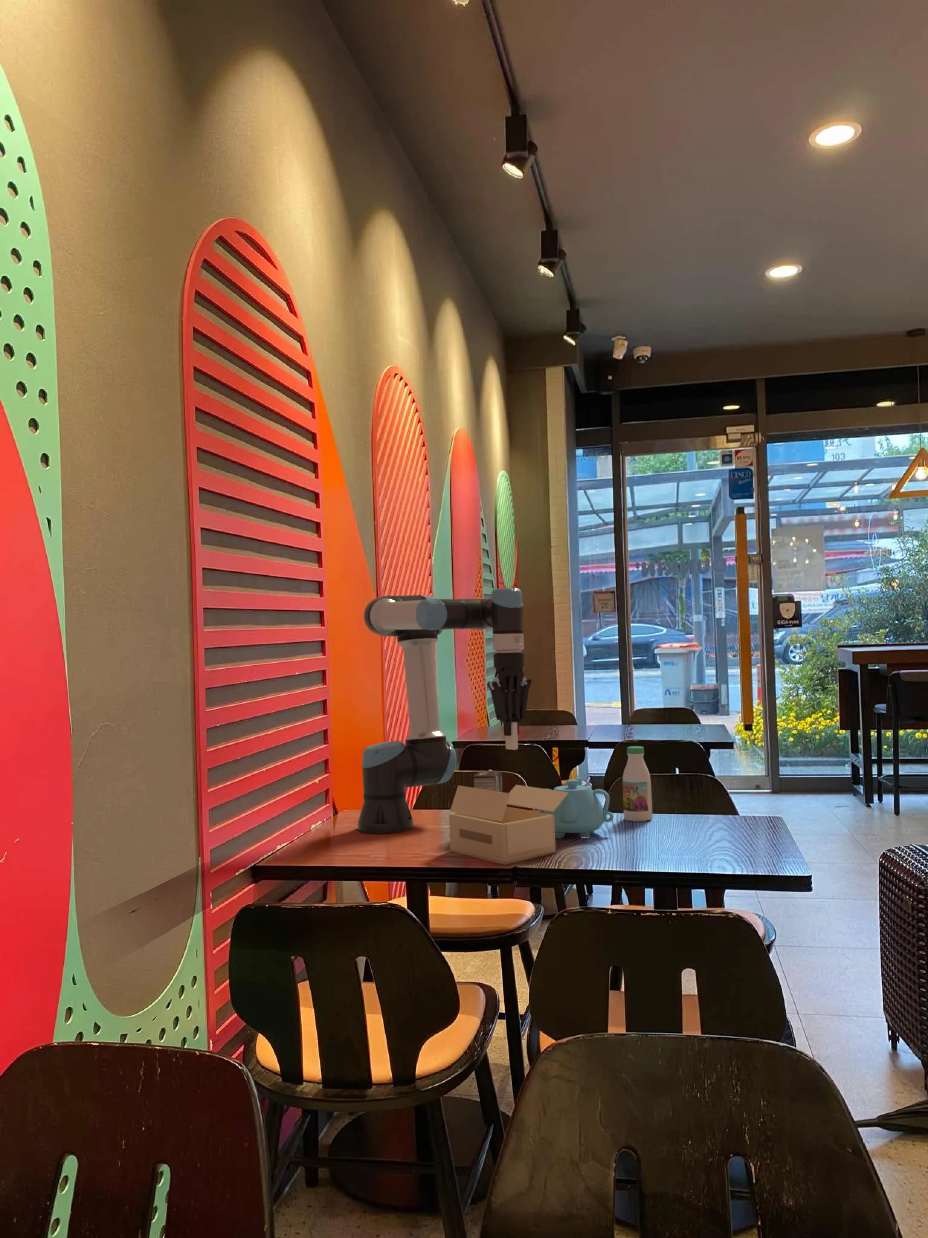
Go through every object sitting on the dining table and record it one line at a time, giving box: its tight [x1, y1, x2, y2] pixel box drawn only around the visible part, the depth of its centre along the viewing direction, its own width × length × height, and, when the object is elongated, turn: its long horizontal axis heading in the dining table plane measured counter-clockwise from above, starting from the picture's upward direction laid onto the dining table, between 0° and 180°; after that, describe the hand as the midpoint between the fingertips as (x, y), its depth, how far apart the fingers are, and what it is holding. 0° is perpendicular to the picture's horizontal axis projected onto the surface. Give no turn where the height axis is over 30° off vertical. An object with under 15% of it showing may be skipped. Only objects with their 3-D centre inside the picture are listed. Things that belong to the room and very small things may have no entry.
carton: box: [448, 805, 557, 866], centre depth 226 cm, size 21×16×9 cm
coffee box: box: [472, 770, 503, 792], centre depth 247 cm, size 9×6×16 cm
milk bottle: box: [622, 745, 653, 822], centre depth 261 cm, size 8×8×20 cm
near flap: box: [450, 785, 510, 821], centre depth 222 cm, size 19×1×6 cm, turn 38°
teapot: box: [536, 774, 614, 838], centre depth 243 cm, size 16×20×14 cm
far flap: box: [507, 784, 569, 812], centre depth 232 cm, size 19×1×6 cm
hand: (511, 749), depth 229 cm, fingers closed
